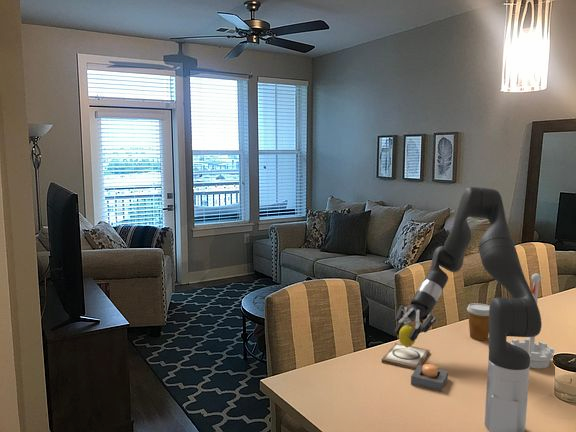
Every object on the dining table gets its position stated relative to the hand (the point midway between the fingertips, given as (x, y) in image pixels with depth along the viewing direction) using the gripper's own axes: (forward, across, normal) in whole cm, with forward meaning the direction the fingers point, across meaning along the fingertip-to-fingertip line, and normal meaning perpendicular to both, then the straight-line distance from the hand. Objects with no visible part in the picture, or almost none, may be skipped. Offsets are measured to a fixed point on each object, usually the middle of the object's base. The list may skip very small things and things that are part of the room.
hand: (403, 336), depth 158 cm
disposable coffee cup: (-21, +5, +33) cm, 40 cm away
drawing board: (+4, 0, +6) cm, 8 cm away
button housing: (+10, +16, 0) cm, 19 cm away
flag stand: (-17, +27, +29) cm, 43 cm away
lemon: (+2, 0, +4) cm, 5 cm away
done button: (+9, +16, -1) cm, 18 cm away
